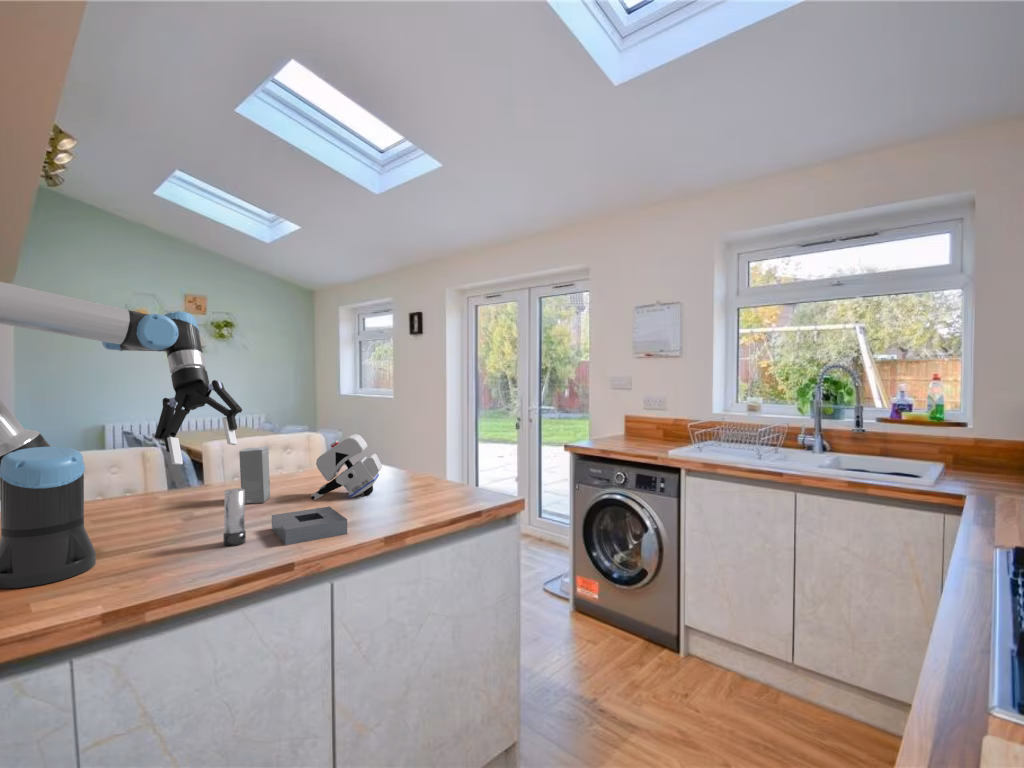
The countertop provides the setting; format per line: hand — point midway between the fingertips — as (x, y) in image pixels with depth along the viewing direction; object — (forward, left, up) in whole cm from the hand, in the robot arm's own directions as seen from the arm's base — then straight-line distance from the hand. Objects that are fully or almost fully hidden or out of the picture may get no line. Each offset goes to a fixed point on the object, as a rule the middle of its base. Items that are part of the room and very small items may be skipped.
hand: (205, 454), depth 118 cm
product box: (+16, +29, -20) cm, 39 cm away
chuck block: (+21, -10, -19) cm, 30 cm away
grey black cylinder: (+5, -9, -19) cm, 22 cm away
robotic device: (+41, +20, -20) cm, 50 cm away
